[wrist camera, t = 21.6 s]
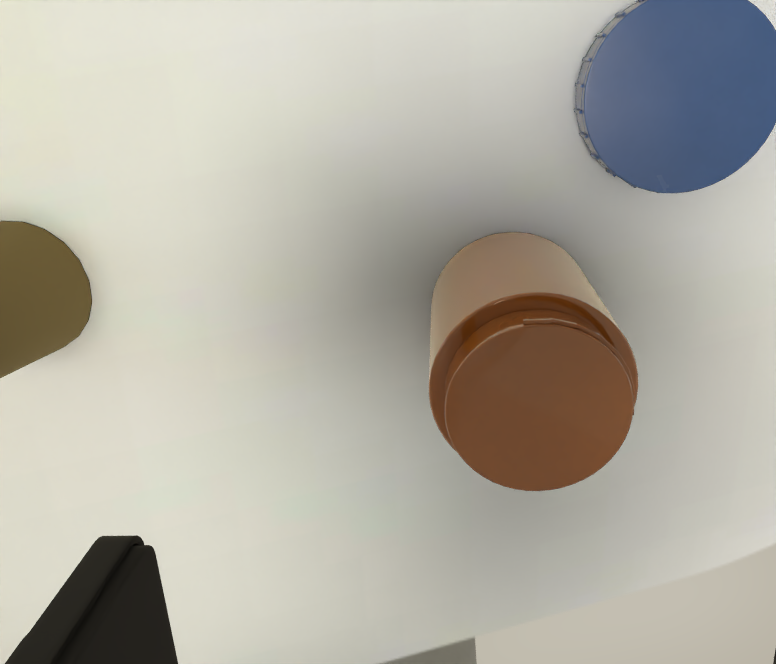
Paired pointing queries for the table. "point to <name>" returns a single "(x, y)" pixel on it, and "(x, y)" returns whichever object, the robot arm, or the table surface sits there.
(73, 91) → the table surface
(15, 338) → the olive game pawn
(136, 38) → the table surface
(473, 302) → the jam jar
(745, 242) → the table surface
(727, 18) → the jar lid
